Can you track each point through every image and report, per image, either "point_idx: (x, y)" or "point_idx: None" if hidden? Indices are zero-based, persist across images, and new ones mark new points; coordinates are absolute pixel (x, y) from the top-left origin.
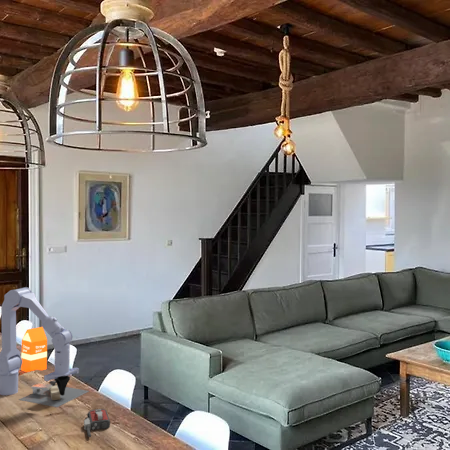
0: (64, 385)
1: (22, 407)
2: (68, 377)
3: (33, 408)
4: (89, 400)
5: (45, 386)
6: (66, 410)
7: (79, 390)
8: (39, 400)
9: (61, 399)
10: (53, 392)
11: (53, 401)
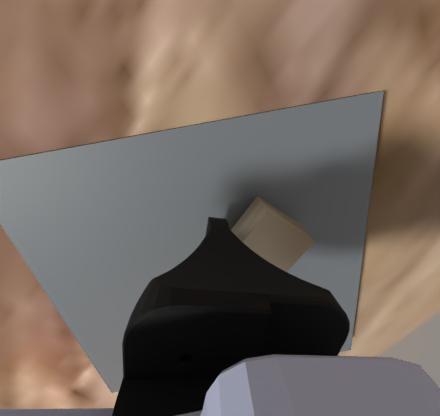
0: (228, 253)
1: (393, 282)
2: (171, 325)
3: (390, 234)
4: (68, 20)
5: None
6: (354, 8)
7: (34, 239)
8: (320, 280)
9: (241, 196)
10: None
11: (297, 209)
